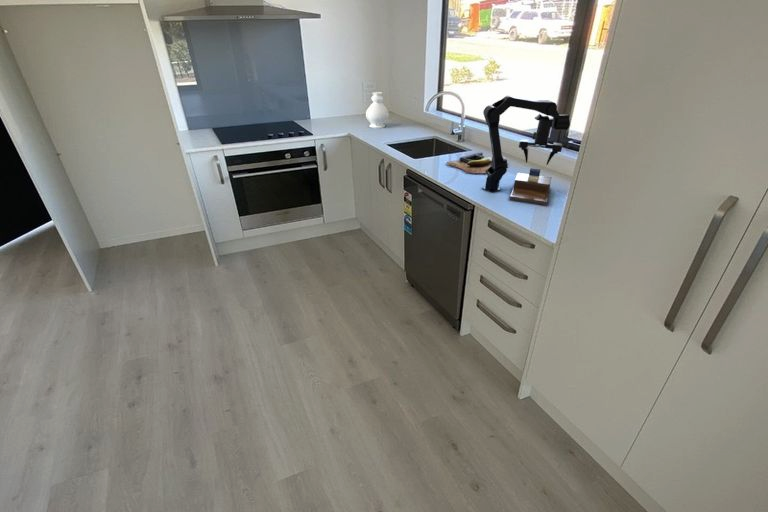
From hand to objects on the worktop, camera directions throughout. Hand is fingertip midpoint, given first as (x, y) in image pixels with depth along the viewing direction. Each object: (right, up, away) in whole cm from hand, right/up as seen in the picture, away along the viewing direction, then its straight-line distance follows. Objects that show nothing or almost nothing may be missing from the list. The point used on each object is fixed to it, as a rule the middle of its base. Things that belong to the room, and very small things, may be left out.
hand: (536, 163), depth 188 cm
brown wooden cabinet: (-3, -14, +1) cm, 15 cm away
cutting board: (-17, +10, +39) cm, 44 cm away
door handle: (-17, +12, +46) cm, 50 cm away
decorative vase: (-78, +59, +127) cm, 161 cm away
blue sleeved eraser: (0, -7, +3) cm, 7 cm away
